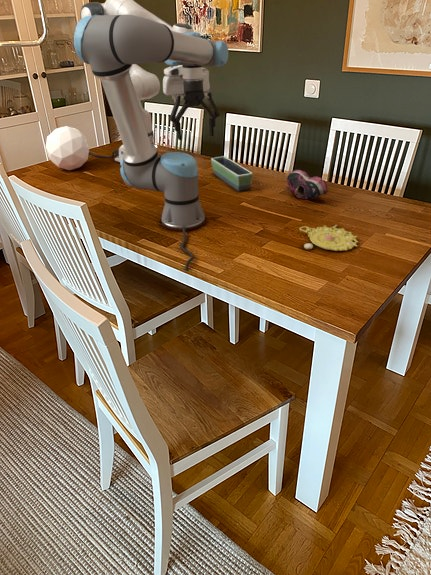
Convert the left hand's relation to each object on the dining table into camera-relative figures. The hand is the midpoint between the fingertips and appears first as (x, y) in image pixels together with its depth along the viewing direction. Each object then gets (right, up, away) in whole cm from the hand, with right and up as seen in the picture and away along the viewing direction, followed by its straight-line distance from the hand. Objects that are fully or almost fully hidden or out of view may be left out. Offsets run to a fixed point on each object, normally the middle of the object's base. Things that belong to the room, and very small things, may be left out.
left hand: (187, 104), depth 190 cm
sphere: (-57, -22, +22) cm, 65 cm away
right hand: (+4, -19, -13) cm, 23 cm away
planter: (+19, -33, 0) cm, 38 cm away
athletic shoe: (+46, -43, -16) cm, 65 cm away
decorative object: (+48, -63, -49) cm, 93 cm away
